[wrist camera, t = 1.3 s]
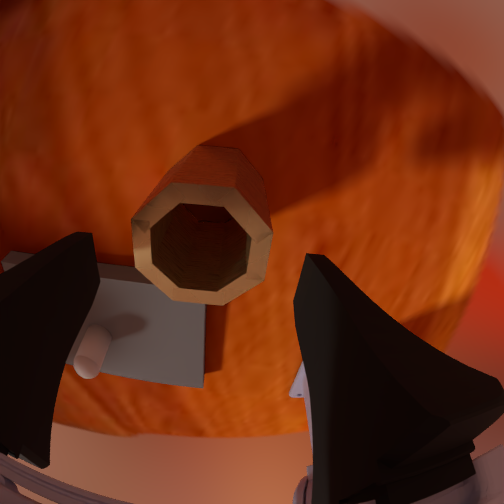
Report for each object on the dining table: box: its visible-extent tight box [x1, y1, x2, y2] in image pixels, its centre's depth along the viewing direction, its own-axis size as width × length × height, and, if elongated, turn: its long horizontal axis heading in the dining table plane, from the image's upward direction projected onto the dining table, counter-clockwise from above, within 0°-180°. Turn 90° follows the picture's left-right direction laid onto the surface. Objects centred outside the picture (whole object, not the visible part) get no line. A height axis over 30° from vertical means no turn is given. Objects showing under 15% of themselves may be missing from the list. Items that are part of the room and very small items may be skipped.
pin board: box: [1, 251, 207, 388], centre depth 18 cm, size 16×11×6 cm
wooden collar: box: [131, 145, 273, 306], centre depth 13 cm, size 5×5×6 cm
